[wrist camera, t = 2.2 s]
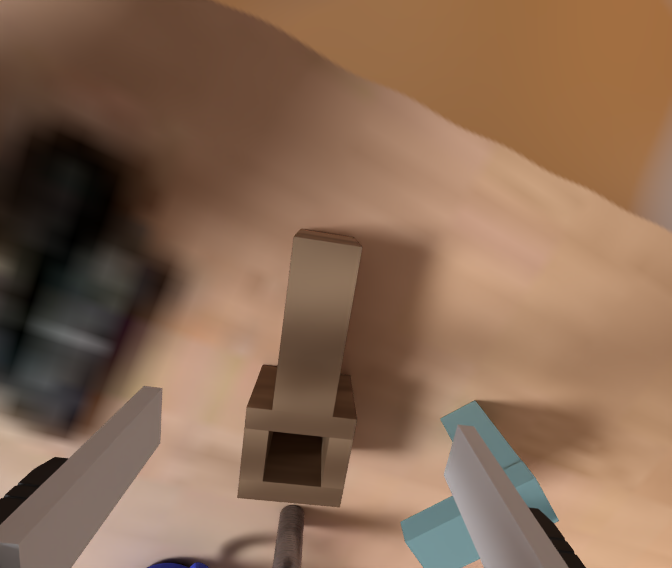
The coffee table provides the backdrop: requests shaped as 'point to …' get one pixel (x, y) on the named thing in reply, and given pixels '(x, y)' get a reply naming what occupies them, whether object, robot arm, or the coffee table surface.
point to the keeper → (444, 517)
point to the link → (306, 383)
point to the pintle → (289, 538)
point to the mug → (178, 565)
